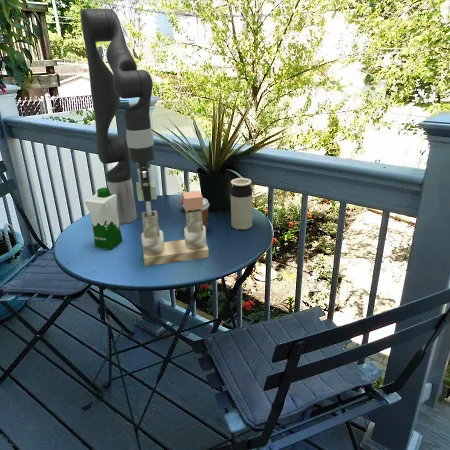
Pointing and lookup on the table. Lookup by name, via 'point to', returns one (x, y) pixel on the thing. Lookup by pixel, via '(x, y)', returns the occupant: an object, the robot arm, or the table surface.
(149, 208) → the sage plunger
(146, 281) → the table surface
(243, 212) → the travel mug
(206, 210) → the disposable coffee cup
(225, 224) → the table surface
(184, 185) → the cupcake
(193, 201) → the terracotta plunger
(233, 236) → the table surface
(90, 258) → the table surface
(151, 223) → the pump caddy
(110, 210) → the milk carton
